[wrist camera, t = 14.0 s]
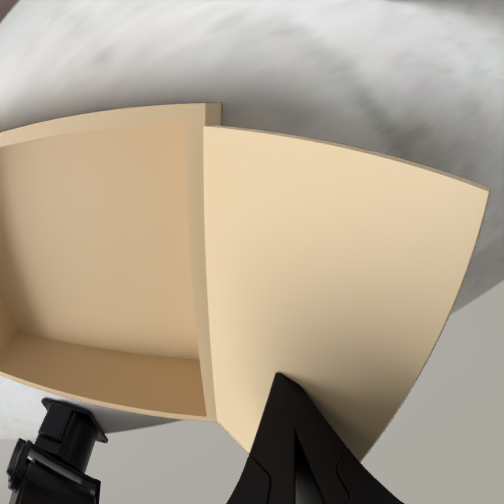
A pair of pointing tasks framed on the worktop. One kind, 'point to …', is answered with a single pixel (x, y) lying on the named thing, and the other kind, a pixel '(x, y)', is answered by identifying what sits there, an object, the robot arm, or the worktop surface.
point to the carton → (108, 259)
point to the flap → (328, 274)
